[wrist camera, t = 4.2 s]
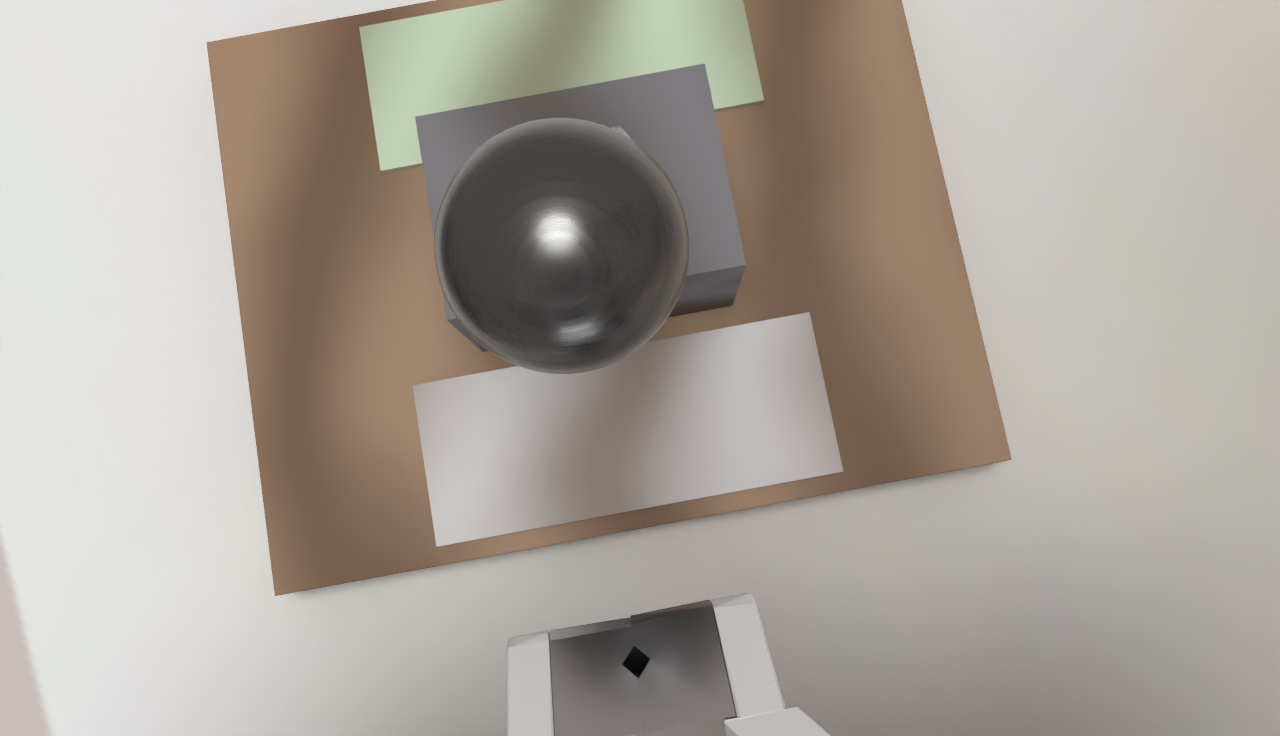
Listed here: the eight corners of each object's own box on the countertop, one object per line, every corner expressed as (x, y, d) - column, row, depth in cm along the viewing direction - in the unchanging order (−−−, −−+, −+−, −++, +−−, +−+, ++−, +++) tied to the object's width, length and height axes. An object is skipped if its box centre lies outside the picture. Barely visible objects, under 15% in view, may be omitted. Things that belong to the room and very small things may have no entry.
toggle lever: (626, 90, 22) (678, 97, 10) (648, 221, 23) (723, 379, 11) (495, 114, 22) (381, 152, 10) (522, 244, 23) (450, 430, 11)
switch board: (871, -52, 30) (921, -192, 24) (992, 462, 28) (1082, 448, 22) (229, 65, 30) (121, -45, 24) (296, 591, 28) (194, 612, 22)
